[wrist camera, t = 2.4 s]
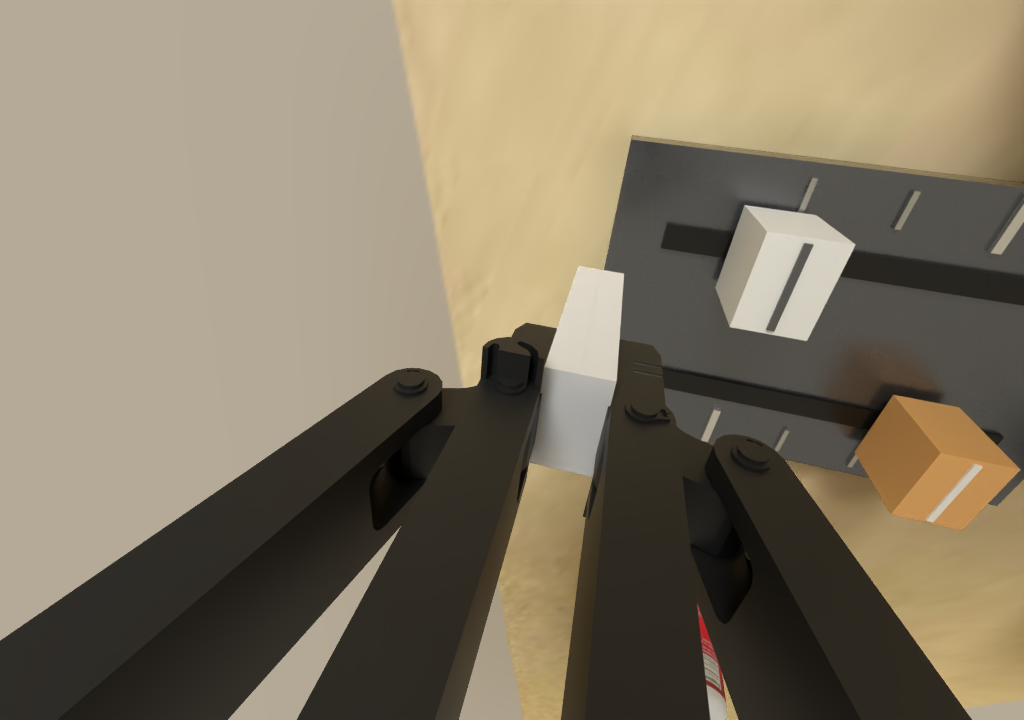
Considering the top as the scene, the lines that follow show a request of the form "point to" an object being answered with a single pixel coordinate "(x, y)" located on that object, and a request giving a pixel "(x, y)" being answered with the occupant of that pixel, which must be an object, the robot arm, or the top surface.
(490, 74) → the top surface
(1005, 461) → the fader
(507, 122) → the top surface
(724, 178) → the console
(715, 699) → the pill bottle
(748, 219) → the fader
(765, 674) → the robot arm
